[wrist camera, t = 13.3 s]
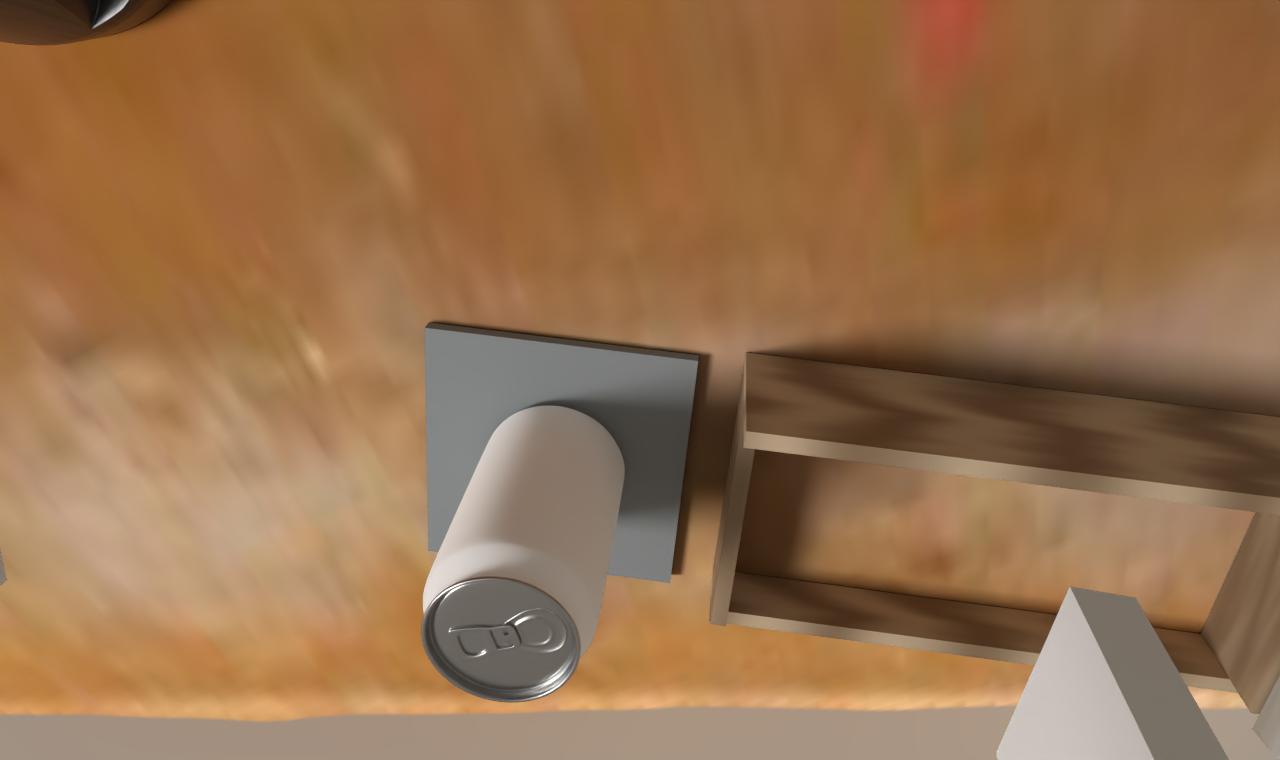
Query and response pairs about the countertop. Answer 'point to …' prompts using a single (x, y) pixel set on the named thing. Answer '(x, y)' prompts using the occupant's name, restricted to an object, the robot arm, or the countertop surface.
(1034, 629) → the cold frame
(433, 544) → the mat
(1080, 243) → the countertop surface
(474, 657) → the can
